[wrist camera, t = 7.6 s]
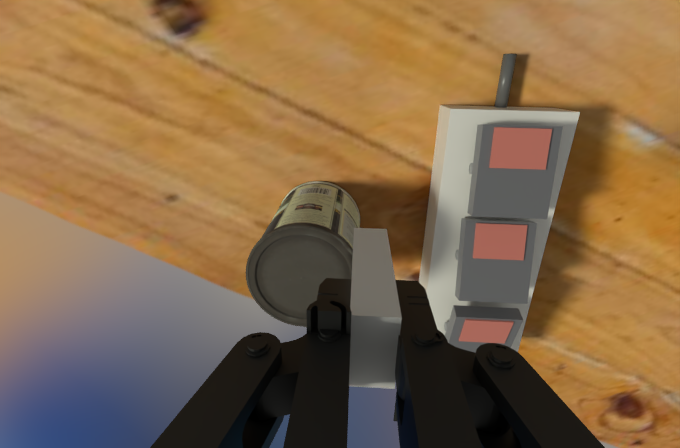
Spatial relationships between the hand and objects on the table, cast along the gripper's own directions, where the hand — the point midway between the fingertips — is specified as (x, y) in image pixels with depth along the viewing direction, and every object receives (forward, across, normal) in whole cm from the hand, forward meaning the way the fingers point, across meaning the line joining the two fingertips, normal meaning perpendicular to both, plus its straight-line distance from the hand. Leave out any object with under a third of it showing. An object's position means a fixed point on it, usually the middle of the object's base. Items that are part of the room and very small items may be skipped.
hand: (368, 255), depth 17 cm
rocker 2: (+20, +14, -10) cm, 26 cm away
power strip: (+26, +14, -8) cm, 31 cm away
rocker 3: (+20, +14, -20) cm, 31 cm away
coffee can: (+27, -5, -9) cm, 29 cm away
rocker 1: (+20, +14, 0) cm, 24 cm away
